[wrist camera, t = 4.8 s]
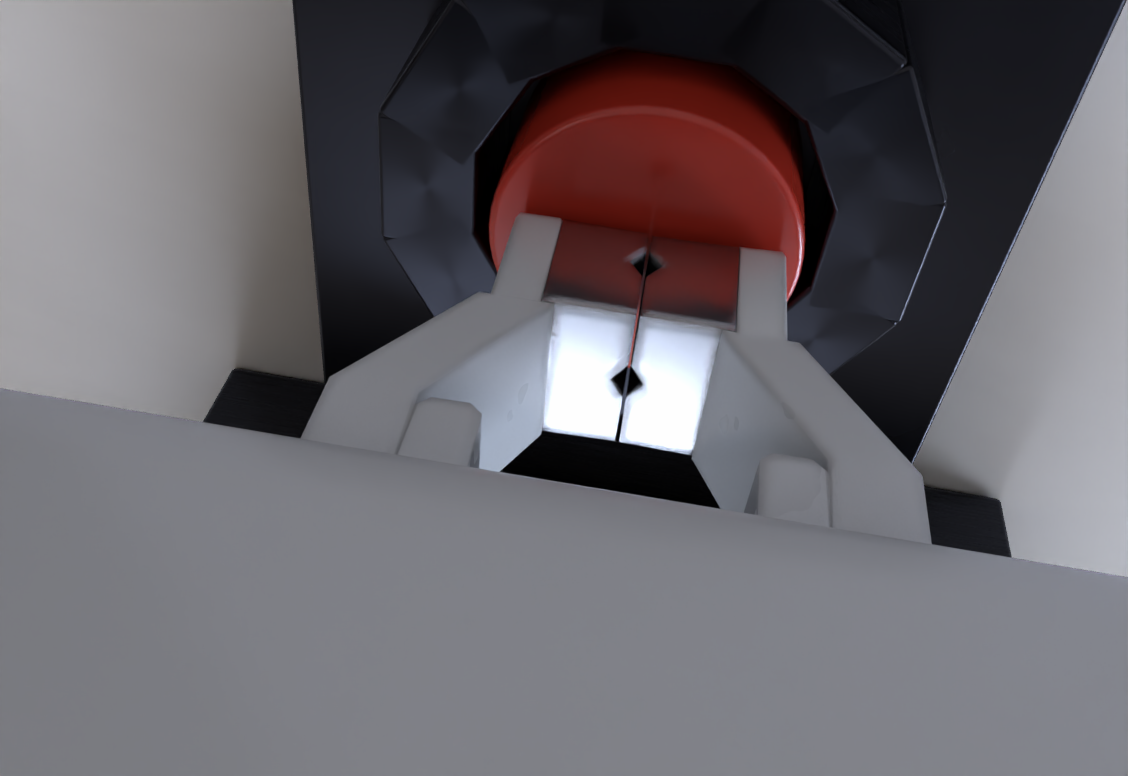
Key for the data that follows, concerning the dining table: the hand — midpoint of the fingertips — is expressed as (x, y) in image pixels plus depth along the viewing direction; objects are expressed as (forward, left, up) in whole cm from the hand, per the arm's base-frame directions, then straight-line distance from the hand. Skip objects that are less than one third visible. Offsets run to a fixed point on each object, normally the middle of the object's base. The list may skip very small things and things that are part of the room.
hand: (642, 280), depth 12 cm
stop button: (0, 0, -2) cm, 2 cm away
